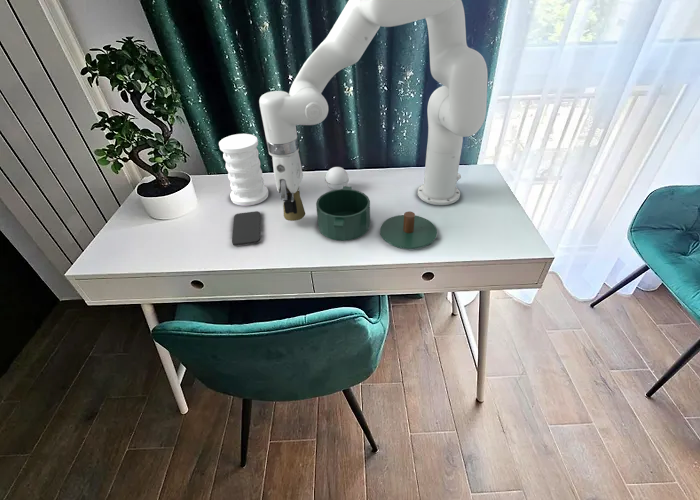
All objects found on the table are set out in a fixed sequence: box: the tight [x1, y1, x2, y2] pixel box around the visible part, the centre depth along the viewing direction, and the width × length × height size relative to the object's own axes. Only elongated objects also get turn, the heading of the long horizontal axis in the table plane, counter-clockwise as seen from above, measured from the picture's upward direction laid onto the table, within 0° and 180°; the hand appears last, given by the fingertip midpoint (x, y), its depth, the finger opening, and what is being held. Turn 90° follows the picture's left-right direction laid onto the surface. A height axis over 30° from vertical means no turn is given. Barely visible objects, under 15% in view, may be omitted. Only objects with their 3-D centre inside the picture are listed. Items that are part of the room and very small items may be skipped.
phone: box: [231, 210, 261, 247], centre depth 111 cm, size 7×1×15 cm
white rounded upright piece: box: [324, 166, 350, 191], centre depth 124 cm, size 10×7×7 cm
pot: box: [315, 185, 371, 242], centre depth 109 cm, size 14×20×8 cm
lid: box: [379, 211, 438, 250], centre depth 105 cm, size 15×15×6 cm
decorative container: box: [218, 133, 269, 207], centre depth 120 cm, size 12×12×18 cm
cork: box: [282, 185, 306, 222], centre depth 108 cm, size 6×6×11 cm
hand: (293, 207), depth 110 cm, fingers closed on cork, 4 cm apart
